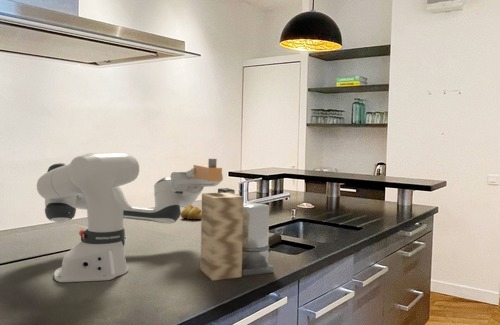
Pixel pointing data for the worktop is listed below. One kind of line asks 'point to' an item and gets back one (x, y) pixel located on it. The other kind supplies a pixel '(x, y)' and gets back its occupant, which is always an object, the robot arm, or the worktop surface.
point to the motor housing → (255, 239)
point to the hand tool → (274, 239)
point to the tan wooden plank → (208, 171)
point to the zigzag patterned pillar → (221, 235)
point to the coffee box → (226, 190)
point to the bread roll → (191, 213)
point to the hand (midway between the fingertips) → (201, 169)
